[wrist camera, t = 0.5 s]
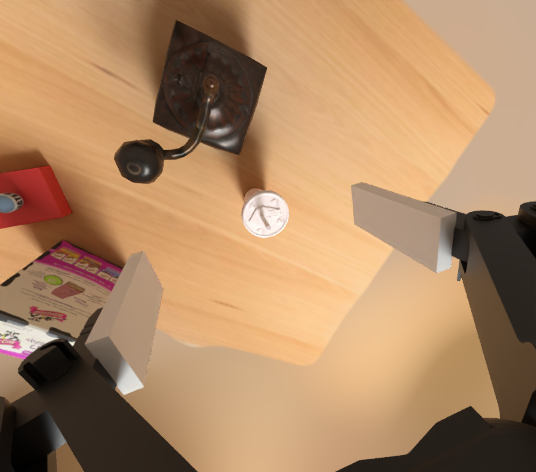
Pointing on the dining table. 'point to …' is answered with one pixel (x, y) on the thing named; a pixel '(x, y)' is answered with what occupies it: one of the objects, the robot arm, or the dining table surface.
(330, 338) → the dining table surface
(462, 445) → the robot arm
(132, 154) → the coffee grinder
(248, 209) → the smoothie
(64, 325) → the candy bar box
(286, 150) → the dining table surface
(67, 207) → the red rectangular block
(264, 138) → the dining table surface
